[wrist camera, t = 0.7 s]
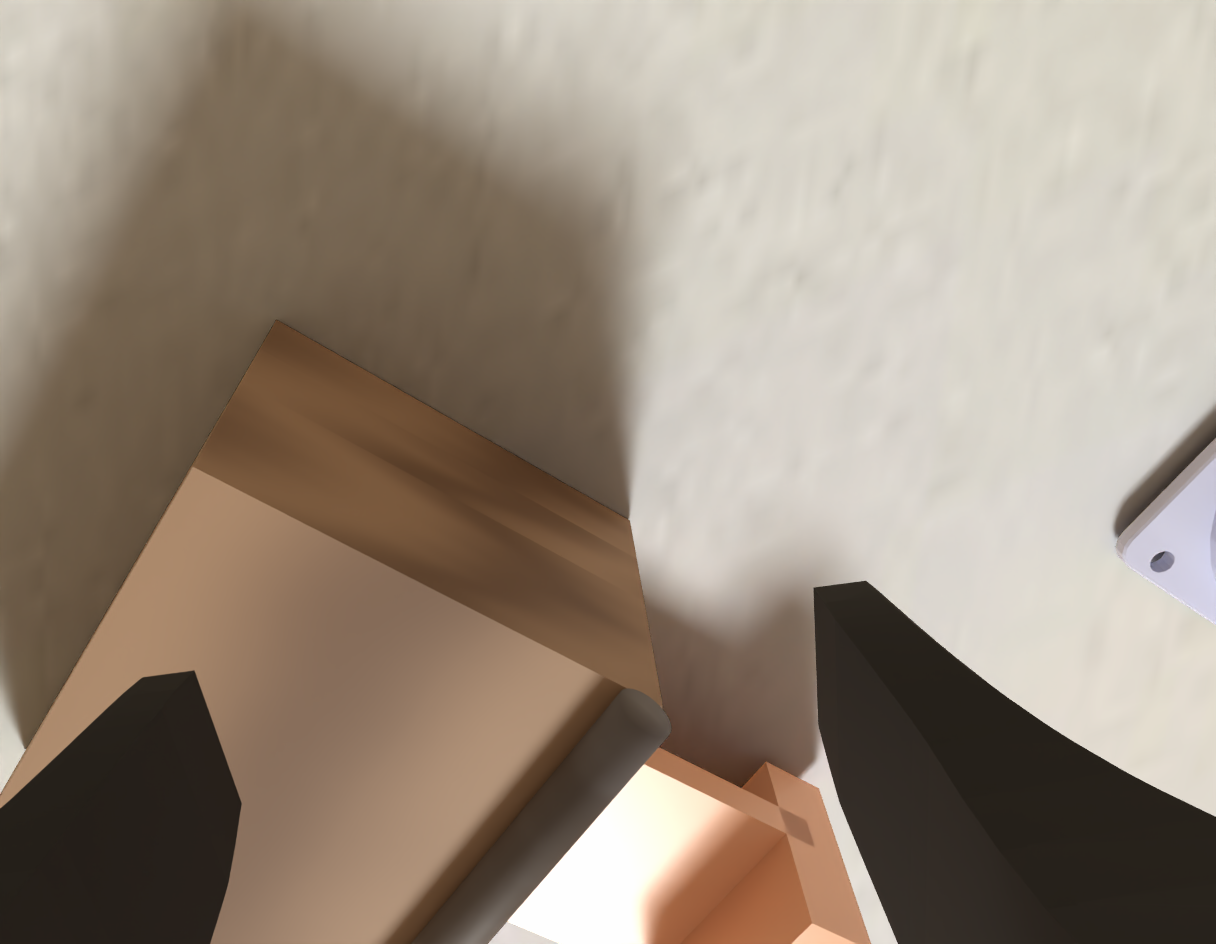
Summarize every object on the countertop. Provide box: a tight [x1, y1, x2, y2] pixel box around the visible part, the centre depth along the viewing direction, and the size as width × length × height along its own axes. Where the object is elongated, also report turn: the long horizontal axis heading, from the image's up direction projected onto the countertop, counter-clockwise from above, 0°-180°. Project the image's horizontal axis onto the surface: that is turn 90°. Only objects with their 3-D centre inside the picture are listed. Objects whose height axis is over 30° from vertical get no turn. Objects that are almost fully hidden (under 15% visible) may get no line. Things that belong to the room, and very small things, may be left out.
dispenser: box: [0, 320, 671, 944], centre depth 21 cm, size 8×12×7 cm
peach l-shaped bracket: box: [507, 747, 871, 944], centre depth 23 cm, size 14×5×5 cm, turn 55°
